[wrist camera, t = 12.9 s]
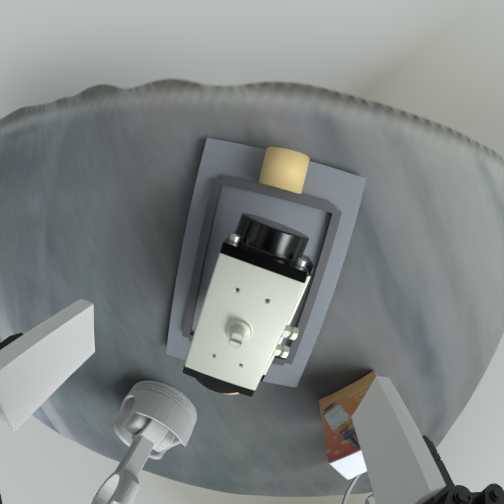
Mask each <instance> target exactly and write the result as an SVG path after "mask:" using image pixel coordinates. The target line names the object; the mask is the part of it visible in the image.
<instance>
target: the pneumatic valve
mask: <svg viewBox="0 0 504 504" xmlns="http://www.w3.org/2000/svg"><path fill="white" fill-rule="evenodd" d="M308 241H309V237H308V236H307V235H305V234H303V233H301V232H299V231H297V230H295V229H292V228H290V227H288V226H285V225H283V224H280V223H277V222H275V221H272V220H269V219H266V218H263V217H260V216H256V215H253V214H248V213H242V214H241V217H240V220H239V223H238V226H237V229H236V231H235V232H234V233H233V234H231V235H230V236H229V237H228V238H227V239H225V240H224V241H223V243H222V246H221V249H220V252H219V255H218V259H217V262H216V265H215V268H214V271H213V274H212V277H211V280H210V283H209V286H208V289H207V293H206V296H205V299H204V302H203V305H202V309H201V312H200V315H199V318H198V322H197V325H196V328H195V331H194V335H193V338H192V341H191V345H190V348H189V352H188V355H187V358H186V362H185V365H184V369H183V373H185V374H187V375H190V376H192V377H195V378H196V379H197V381H198V382H199V383H201V384H202V385H203V386H205V387H206V388H208V389H210V390H213V391H215V392H219V393H226V394H230V393H236V392H237V393H241V394H244V395H247V396H251V397H252V395H253V393H254V392H255V390H256V388H257V386H258V384H259V382H260V381H263V379H264V377H265V375H266V373H267V371H268V369H269V367H270V365H271V363H272V361H273V359H274V357H275V355H276V356H279V355H280V357H282V358H287V356H288V354H289V350H290V347H288V346H283V348H282V345H281V343H282V340H283V338H288V336H289V339H291V340H296V338H297V336H298V333H299V329H298V328H296V327H292V329H291V326H290V323H291V321H292V319H293V317H294V314H295V312H296V310H297V308H298V305H299V303H300V301H301V299H302V296H303V294H304V292H305V289H306V287H307V285H308V282H309V280H310V278H311V275H312V273H313V270H314V268H315V267H314V265H313V263H312V262H311V260H310V258H309V257H308V256H306V255H303V254H304V251H305V249H306V246H307V244H308Z"/></svg>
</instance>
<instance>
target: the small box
mask: <svg viewBox="0 0 504 504" xmlns="http://www.w3.org/2000/svg"><path fill="white" fill-rule="evenodd" d="M376 376H378V375H377V374H376V372H375V371H372V372H370V373H369V374H367V375H366V376H364V377H363V378H361V379H359V380H357V381H356V382H354V383H352V384H350V385H348V386H346V387H344V388H343V389H341V390H339V391H337V392H335V393H333V394H331V395H329V396H326V397H324V398H322V399H320V400H319V405H320V412H321V418H322V424H323V431H324V436H325V443H326V450H327V457H328V463H329V464H330V465H331V466H332V467H334V468H335V469H336V470H337V471H338V472H339V473H340V474H341V475H343V476H344V477H345V478H346V479H351V478H354V477H355V476H357V475H359V474H362V473H364V472H366V471H367V468H366V465H365V461H364V458H363V454H362V451H361V448H360V444H359V441H358V438H357V434H356V431H355V428H354V424H353V421H352V418H351V417H352V416H353V414H354V412H355V411H356V409H357V408H358V406H359V405H360V403H361V401H362V400H363V398H364V396H365V395H366V393H367V391H368V389H369V388H370V386H371V384H372V382H373V381H374V379H375V377H376Z"/></svg>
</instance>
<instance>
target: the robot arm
mask: <svg viewBox="0 0 504 504" xmlns="http://www.w3.org/2000/svg"><path fill="white" fill-rule="evenodd" d="M94 352H95V343H94V304H93V303H90V302H88V301H86V300H83V299H80V300H78V301H76V302H75V303H73V304H71V305H70V306H68V307H66V308H65V309H63V310H62V311H60V312H58V313H57V314H55V315H53V316H52V317H50V318H49V319H47V320H45V321H44V322H42V323H41V324H39V325H38V326H36V327H34V328H33V329H31V330H30V331H28V332H27V333H25V334H24V335H23V334H22V333H19V334H16V335H12V336H10V337H8V338H7V339H5V340H3V341H2V343H1V342H0V418H1V420H2V421H3V422H4V423H5V424H6V425H7V426H8V427H9V428H11V429H12V430H13V431H14V432H16V431H17V429H18V428H19V427H20V426H21V425H22V424H23V423H24V422H25V421H26V420H27V419H28V418H29V417H30V416H31V415H32V414H33V413H34V412H35V411H36V410H37V409H38V408H39V407H40V405H41V404H42V403H43V402H44V401H45V400H46V399H47V398H48V397H49V396H50V395H51V394H52V393H53V392H54V391H55V390H56V389H57V388H58V387H59V386H60V385H61V384H62V383H63V382H64V381H65V380H66V379H67V378H68V377H69V376H70V375H71V374H73V373H74V372H75V371H76V370H77V369H78V368H79V367H80V366H81V365H82V364H83V363H84V362H85V361H86V360H87V359H88V358H89V357H90V356H91V355H92V354H93V353H94ZM351 418H352V421H353V424H354V428H355V431H356V434H357V438H358V441H359V444H360V448H361V451H362V454H363V458H364V461H365V465H366V468H367V472H368V476H369V479H370V483H371V487H372V490H373V494H374V498H375V502H376V504H504V491H503V489H502V487H500V486H499V485H497V484H490V485H489V486H487V487H486V488H485V489H484V490H483V491H482V492H474V493H471V492H470V491H469V490H468V489H467V488H466V487H464V486H461V485H457V486H455V485H454V484H453V482H452V480H451V478H450V476H449V474H448V472H447V470H446V468H445V466H444V464H443V462H442V460H440V459H441V458H440V456H439V454H438V453H437V450H436V448H435V446H434V444H433V443H432V442H431V441H430V440H429V439H428V438H427V437H426V436H422V435H421V433H420V432H419V430H418V428H417V426H416V424H415V422H414V420H413V419H412V417H411V415H410V413H409V411H408V409H407V408H406V406H405V404H404V402H403V400H402V399H401V397H400V395H399V393H398V392H397V390H396V388H395V386H394V385H393V383H392V381H391V380H390V378H389V377H380V376H376V377H375V379H374V381H373V382H372V384H371V386H370V388H369V389H368V391H367V393H366V395H365V396H364V398H363V400H362V401H361V403H360V405H359V406H358V408H357V409H356V411H355V412H354V414H353V416H352V417H351ZM0 504H2V500H1V495H0Z"/></svg>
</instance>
